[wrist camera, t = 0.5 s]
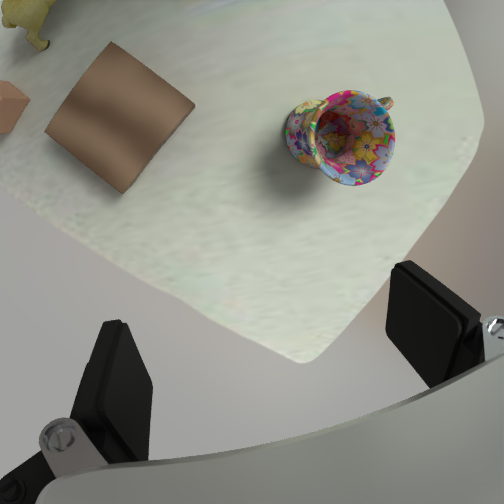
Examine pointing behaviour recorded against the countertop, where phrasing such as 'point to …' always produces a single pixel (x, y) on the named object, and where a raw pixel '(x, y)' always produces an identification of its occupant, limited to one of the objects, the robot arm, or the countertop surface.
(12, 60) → the countertop surface
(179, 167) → the countertop surface
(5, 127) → the terracotta block
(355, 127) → the mug
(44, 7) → the toy
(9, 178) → the countertop surface
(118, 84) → the walnut box
